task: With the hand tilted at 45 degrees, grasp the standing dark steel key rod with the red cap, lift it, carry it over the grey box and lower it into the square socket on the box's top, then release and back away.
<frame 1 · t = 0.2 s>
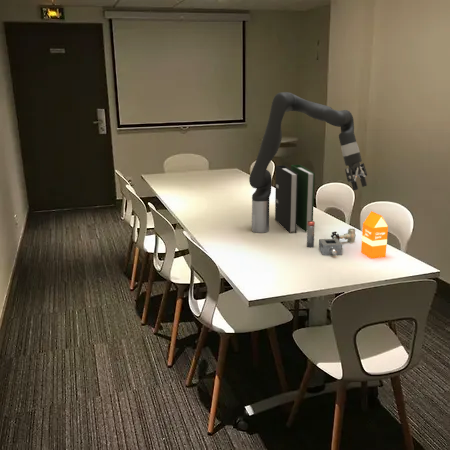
hand: (360, 188, 222), 31 cm above the table, tool tilted 20°, fingers open, 8 cm apart
binder: (293, 226, 273), on the table
orange juice: (373, 255, 226), on the table
grey box: (330, 251, 231), on the table
valve: (344, 243, 244), on the table
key: (310, 246, 239), on the table
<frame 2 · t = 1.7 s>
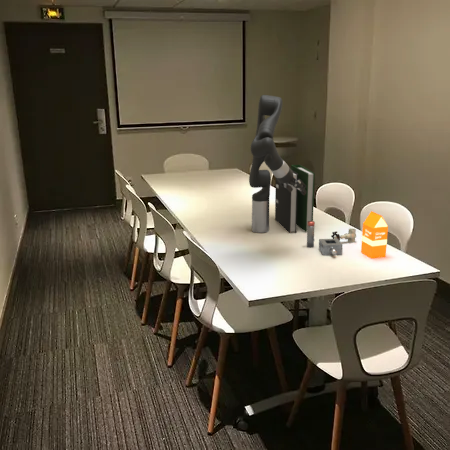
hand: (298, 192, 229), 28 cm above the table, tool tilted 45°, fingers open, 8 cm apart
nothing on the table moved.
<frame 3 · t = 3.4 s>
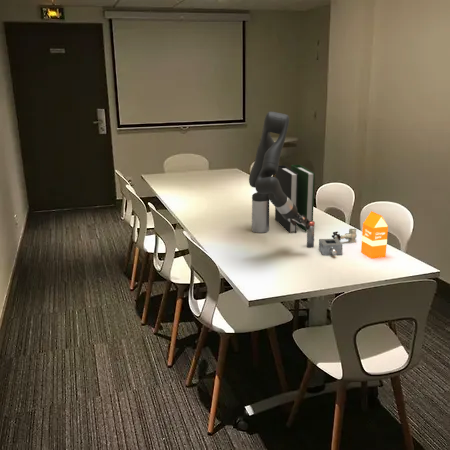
hand: (302, 226, 231), 12 cm above the table, tool tilted 45°, fingers open, 8 cm apart
nothing on the table moved.
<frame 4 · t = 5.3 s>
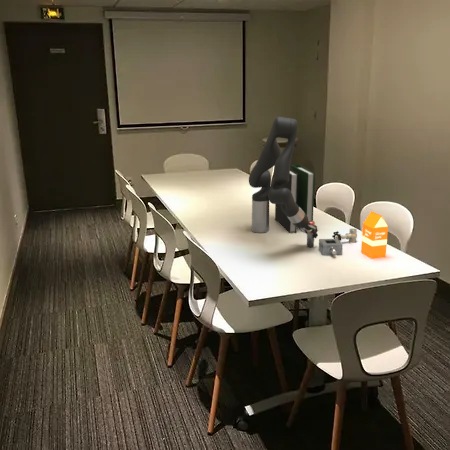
hand: (313, 235, 238), 5 cm above the table, tool tilted 45°, fingers closed on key, 3 cm apart
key: (310, 246, 239), on the table, touching gripper
everything else where it was.
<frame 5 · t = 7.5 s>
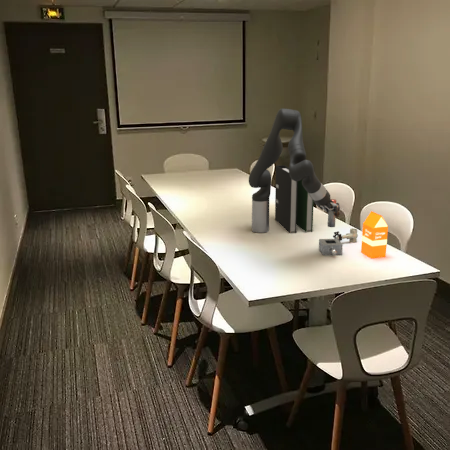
hand: (334, 214, 227), 18 cm above the table, tool tilted 45°, fingers closed on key, 3 cm apart
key: (331, 226, 227), point 13 cm above the table, touching gripper
when the fingers open (8 cm above the table, at t = 10.1 s): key drops 1 cm, resting on grey box.
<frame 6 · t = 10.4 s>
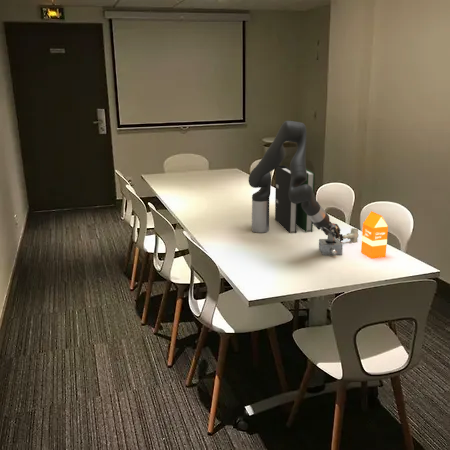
hand: (333, 234, 230), 8 cm above the table, tool tilted 45°, fingers open, 6 cm apart
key: (330, 249, 231), point 1 cm above the table, touching grey box
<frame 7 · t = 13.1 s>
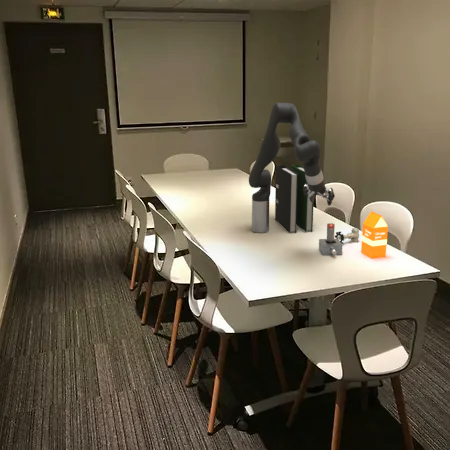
hand: (321, 202, 227), 23 cm above the table, tool tilted 35°, fingers open, 8 cm apart
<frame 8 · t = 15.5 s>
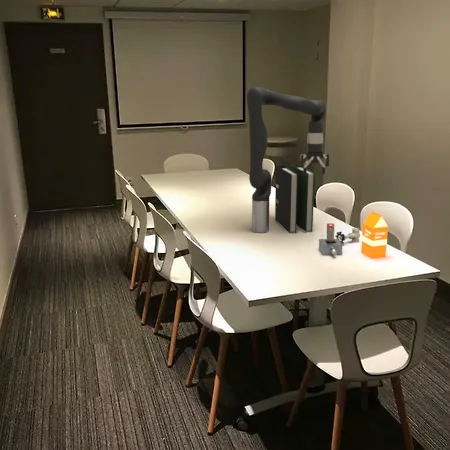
hand: (313, 174, 242), 33 cm above the table, tool pointing down, fingers open, 8 cm apart
at the end: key 0.1 cm off-centre on the grey box, point 1.1 cm above the grey box's base; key tilted 2°; the gripper is holding nothing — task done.
